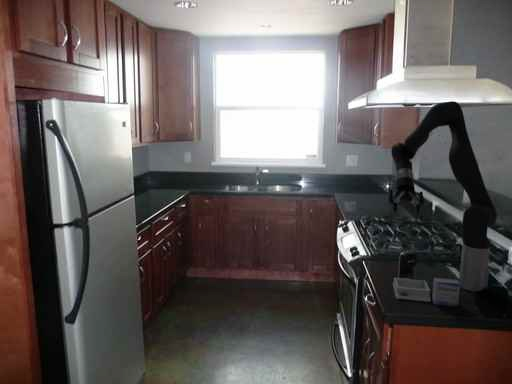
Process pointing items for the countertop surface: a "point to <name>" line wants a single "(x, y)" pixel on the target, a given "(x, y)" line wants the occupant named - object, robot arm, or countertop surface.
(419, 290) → the charging dock
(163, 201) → the countertop surface
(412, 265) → the battery charger
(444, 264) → the countertop surface
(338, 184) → the countertop surface
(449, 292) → the medicine box
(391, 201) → the robot arm
